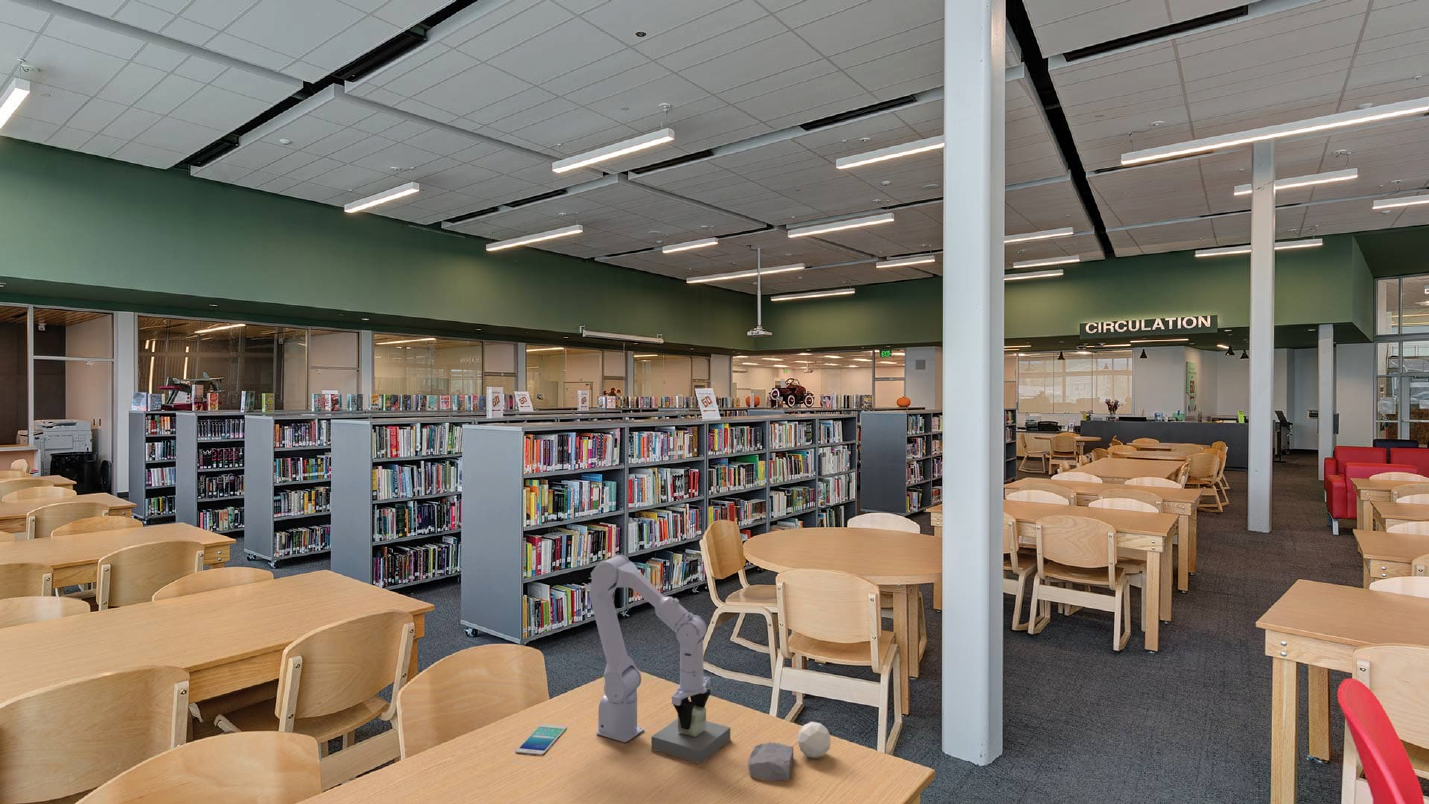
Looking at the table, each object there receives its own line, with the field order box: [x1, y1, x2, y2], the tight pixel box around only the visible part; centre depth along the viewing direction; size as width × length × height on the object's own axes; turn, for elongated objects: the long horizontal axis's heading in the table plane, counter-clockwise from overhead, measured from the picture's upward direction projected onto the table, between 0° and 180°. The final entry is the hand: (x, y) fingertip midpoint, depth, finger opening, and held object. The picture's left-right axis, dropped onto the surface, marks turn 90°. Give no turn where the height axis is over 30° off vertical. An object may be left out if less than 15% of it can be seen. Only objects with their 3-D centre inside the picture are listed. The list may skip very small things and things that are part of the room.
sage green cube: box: [677, 705, 707, 737], centre depth 173 cm, size 5×5×5 cm
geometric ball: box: [797, 721, 832, 760], centre depth 167 cm, size 8×8×8 cm
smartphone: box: [515, 723, 567, 756], centre depth 175 cm, size 7×1×15 cm
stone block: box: [747, 741, 794, 782], centre depth 162 cm, size 12×5×10 cm
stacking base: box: [650, 718, 731, 765], centre depth 173 cm, size 14×14×3 cm
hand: (691, 724), depth 173 cm, fingers closed on sage green cube, 5 cm apart
